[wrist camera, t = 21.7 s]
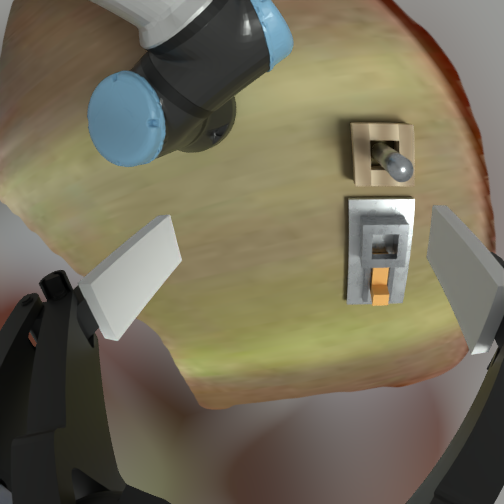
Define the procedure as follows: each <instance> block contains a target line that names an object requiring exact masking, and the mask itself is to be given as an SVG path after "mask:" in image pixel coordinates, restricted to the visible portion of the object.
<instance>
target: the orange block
mask: <svg viewBox="0 0 504 504" xmlns="http://www.w3.org/2000/svg"><path fill="white" fill-rule="evenodd" d="M373 254H388V253H373ZM388 271H389V268H372V270H371V282H370V294H371V300H372V306H373V305H388V301H389V291H388V287H387V279H388Z"/></svg>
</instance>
